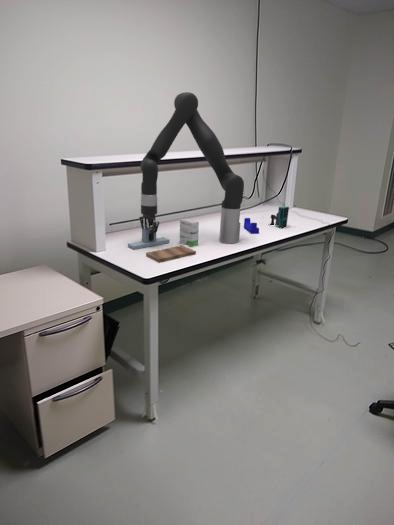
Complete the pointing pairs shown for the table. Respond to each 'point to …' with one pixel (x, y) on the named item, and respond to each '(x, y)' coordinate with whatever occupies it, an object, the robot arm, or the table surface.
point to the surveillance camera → (280, 217)
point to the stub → (147, 240)
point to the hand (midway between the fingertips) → (149, 239)
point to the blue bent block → (250, 226)
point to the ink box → (189, 232)
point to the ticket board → (170, 253)
